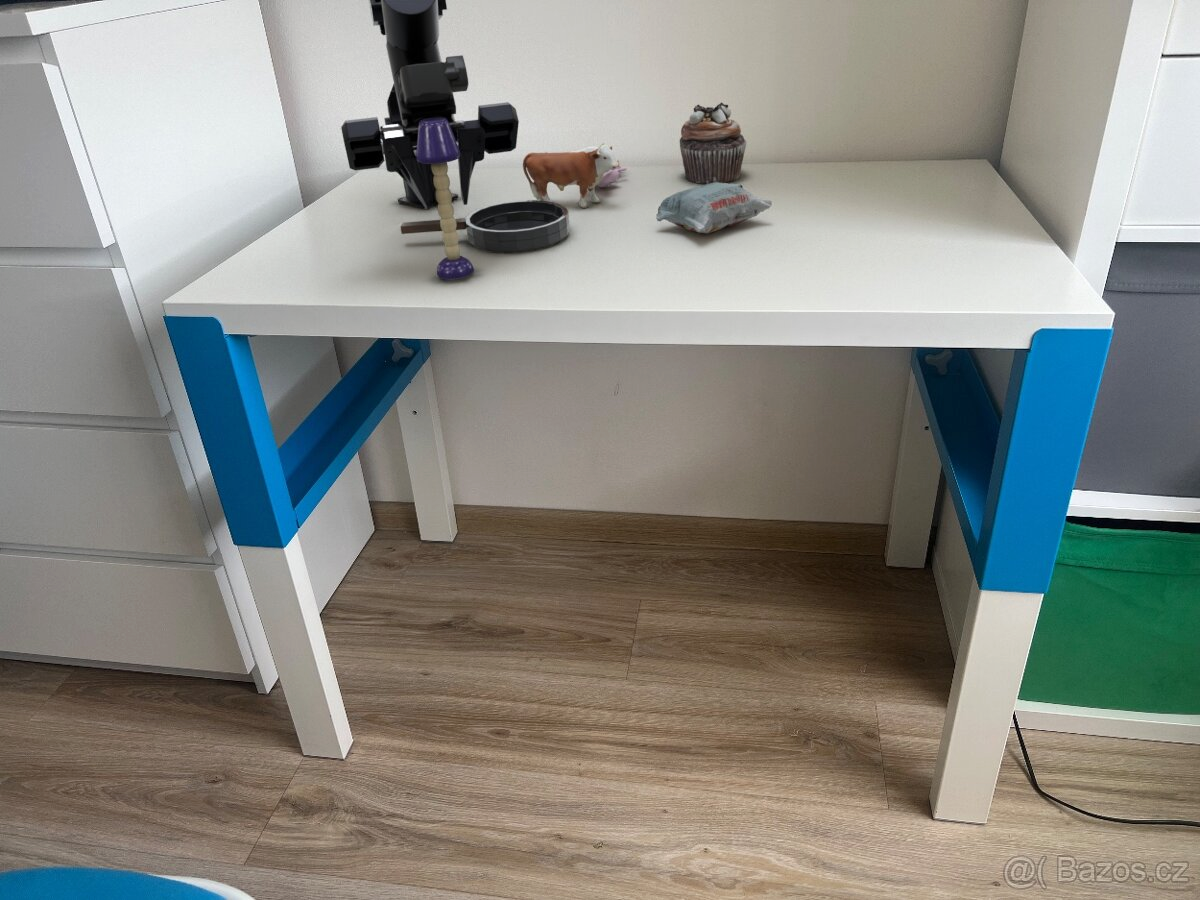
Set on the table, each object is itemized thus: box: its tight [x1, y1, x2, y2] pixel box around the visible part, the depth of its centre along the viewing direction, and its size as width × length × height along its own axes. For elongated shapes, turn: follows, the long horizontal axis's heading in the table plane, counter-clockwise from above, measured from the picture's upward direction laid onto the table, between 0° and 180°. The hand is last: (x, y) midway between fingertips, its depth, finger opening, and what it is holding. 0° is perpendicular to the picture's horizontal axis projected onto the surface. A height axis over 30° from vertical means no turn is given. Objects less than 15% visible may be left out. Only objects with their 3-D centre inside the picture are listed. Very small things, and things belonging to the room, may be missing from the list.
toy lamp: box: [416, 117, 475, 281], centre depth 95 cm, size 5×5×17 cm
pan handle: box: [400, 217, 466, 235], centre depth 109 cm, size 8×2×1 cm, turn 93°
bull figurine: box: [522, 144, 620, 209], centre depth 118 cm, size 4×13×8 cm, turn 76°
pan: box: [464, 199, 571, 254], centre depth 109 cm, size 13×13×3 cm
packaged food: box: [655, 182, 773, 234], centre depth 108 cm, size 9×12×5 cm
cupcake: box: [679, 102, 748, 185], centre depth 126 cm, size 10×10×10 cm
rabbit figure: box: [597, 142, 627, 189], centre depth 127 cm, size 6×6×15 cm
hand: (446, 205), depth 94 cm, fingers closed on toy lamp, 4 cm apart
